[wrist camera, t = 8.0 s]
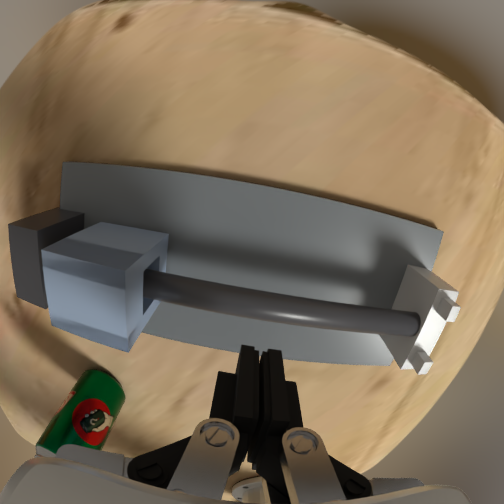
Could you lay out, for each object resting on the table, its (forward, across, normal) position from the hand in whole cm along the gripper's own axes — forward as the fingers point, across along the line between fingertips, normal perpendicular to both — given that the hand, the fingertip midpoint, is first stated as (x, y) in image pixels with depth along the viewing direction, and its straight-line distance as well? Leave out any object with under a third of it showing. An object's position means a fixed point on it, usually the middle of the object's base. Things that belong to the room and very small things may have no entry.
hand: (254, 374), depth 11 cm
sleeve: (+7, +9, -1) cm, 11 cm away
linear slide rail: (+8, +2, -1) cm, 9 cm away
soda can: (+9, +13, +14) cm, 21 cm away
